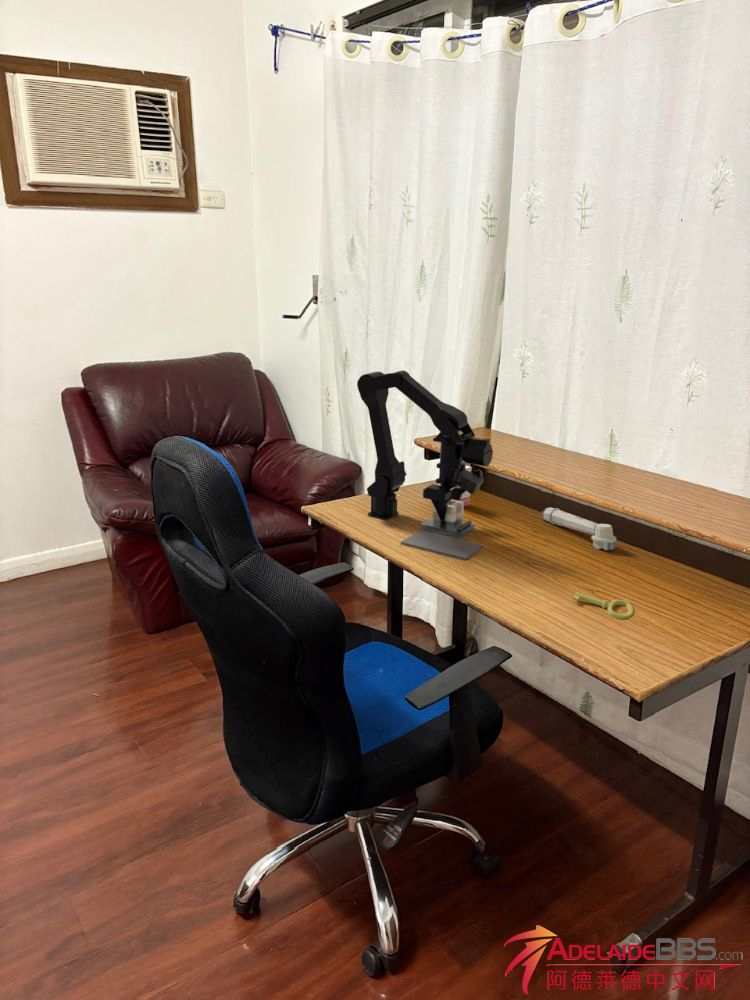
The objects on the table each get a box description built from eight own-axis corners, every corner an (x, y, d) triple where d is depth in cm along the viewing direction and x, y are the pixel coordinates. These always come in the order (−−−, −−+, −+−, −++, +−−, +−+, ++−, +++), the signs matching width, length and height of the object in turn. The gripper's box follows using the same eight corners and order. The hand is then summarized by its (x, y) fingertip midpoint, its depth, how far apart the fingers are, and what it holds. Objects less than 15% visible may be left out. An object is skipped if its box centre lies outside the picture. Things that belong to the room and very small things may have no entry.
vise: (420, 529, 193) (421, 502, 190) (434, 520, 199) (435, 494, 197) (461, 538, 187) (462, 511, 184) (474, 529, 193) (476, 502, 191)
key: (571, 599, 156) (572, 590, 155) (631, 606, 153) (632, 597, 153) (572, 615, 149) (573, 606, 148) (635, 622, 147) (636, 613, 146)
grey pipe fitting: (554, 505, 202) (621, 522, 180) (554, 528, 203) (620, 548, 181) (539, 507, 200) (605, 525, 178) (539, 531, 201) (604, 551, 179)
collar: (432, 517, 191) (433, 503, 190) (443, 511, 196) (443, 497, 195) (453, 522, 188) (454, 507, 187) (463, 515, 193) (464, 501, 192)
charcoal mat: (400, 544, 183) (400, 541, 182) (420, 532, 191) (420, 530, 190) (466, 560, 174) (466, 558, 173) (483, 547, 182) (483, 544, 182)
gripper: (463, 473, 175) (460, 533, 180) (494, 456, 190) (490, 512, 195) (423, 466, 181) (420, 524, 186) (456, 450, 196) (453, 505, 201)
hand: (448, 516), depth 192 cm, fingers closed on collar, 6 cm apart
